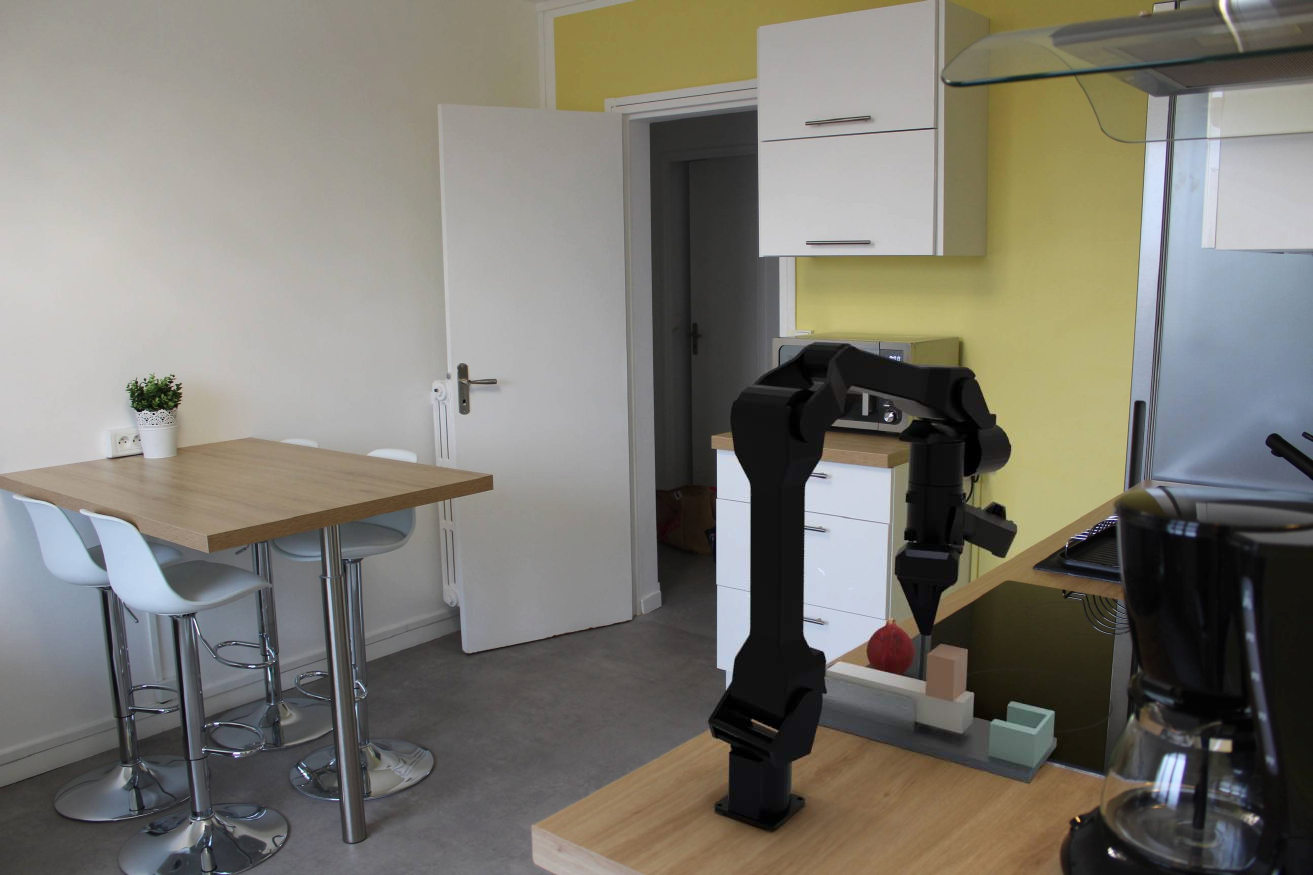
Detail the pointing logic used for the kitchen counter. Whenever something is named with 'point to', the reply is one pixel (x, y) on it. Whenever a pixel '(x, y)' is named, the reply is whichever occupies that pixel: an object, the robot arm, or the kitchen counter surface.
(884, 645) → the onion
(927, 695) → the sliding bolt
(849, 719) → the frame
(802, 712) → the robot arm
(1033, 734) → the socket
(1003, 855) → the kitchen counter surface
